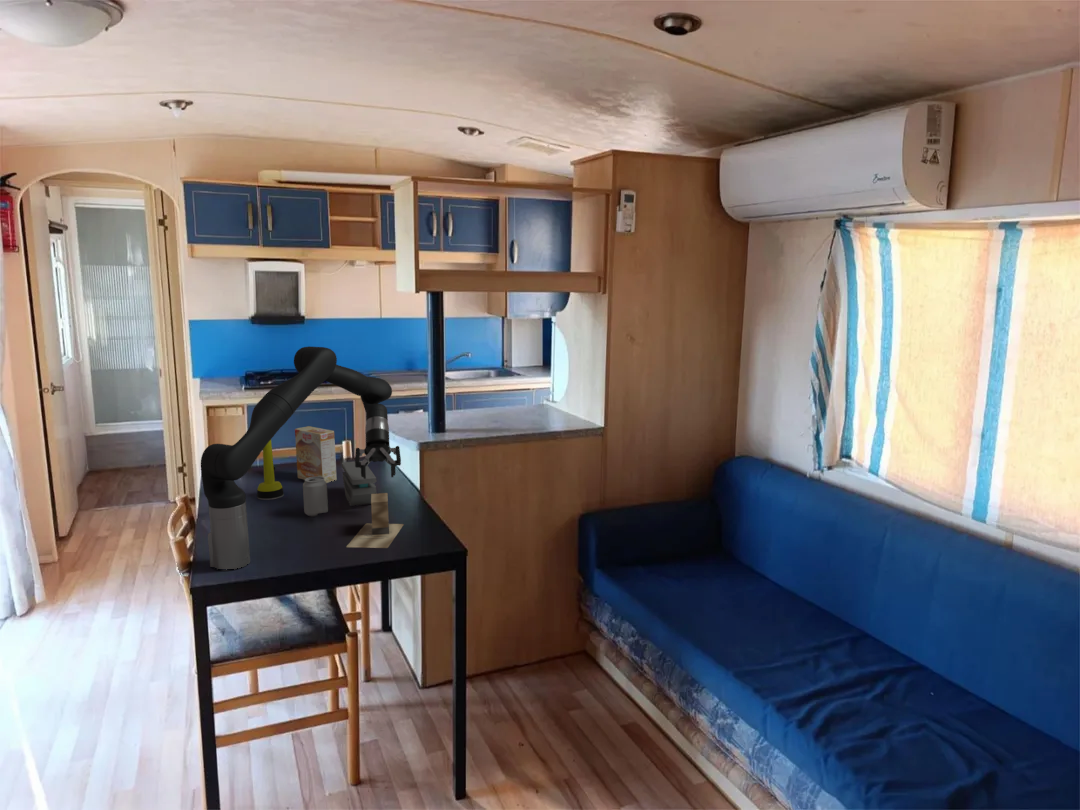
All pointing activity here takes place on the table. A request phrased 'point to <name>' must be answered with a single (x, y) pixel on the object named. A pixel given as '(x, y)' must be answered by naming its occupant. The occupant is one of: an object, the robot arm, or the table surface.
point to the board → (374, 537)
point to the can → (315, 496)
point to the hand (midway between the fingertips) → (378, 476)
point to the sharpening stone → (358, 484)
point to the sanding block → (379, 513)
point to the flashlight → (269, 478)
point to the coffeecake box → (315, 453)
